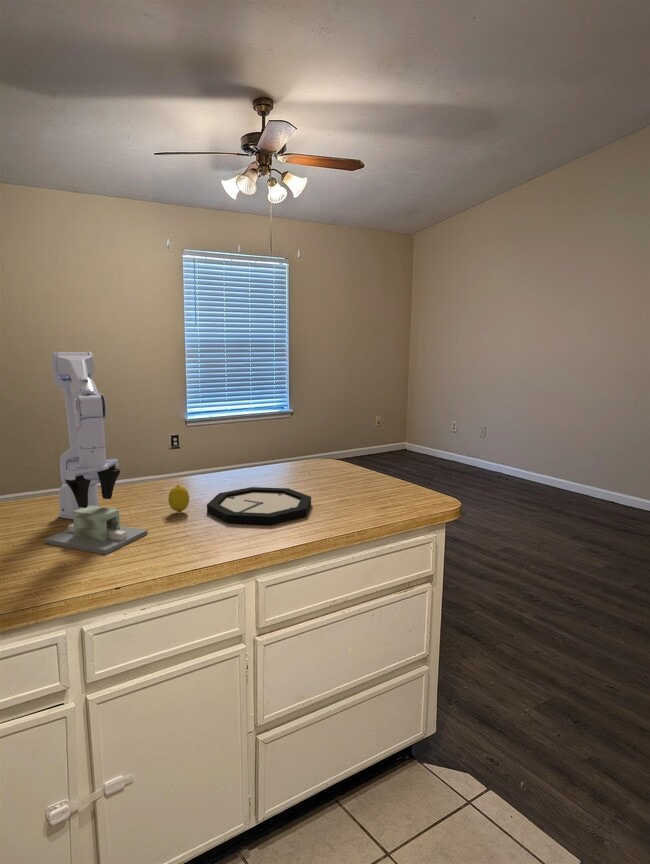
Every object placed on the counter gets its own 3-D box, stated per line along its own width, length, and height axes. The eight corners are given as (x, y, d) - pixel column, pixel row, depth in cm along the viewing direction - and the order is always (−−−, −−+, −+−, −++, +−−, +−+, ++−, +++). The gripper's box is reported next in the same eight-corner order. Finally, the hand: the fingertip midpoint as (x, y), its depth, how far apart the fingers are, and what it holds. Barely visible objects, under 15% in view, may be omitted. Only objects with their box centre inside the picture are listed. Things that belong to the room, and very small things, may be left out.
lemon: (168, 510, 149) (167, 483, 148) (188, 509, 151) (187, 481, 150) (169, 516, 144) (168, 488, 143) (190, 514, 146) (189, 486, 145)
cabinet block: (74, 535, 127) (72, 511, 126) (91, 528, 131) (89, 505, 130) (108, 541, 123) (106, 516, 122) (124, 534, 128) (122, 510, 127)
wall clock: (331, 495, 158) (275, 524, 132) (331, 504, 158) (275, 535, 132) (248, 482, 172) (183, 506, 146) (248, 491, 172) (184, 516, 146)
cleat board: (44, 543, 124) (44, 532, 124) (90, 524, 137) (89, 515, 137) (105, 554, 118) (105, 543, 118) (147, 534, 131) (147, 524, 130)
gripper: (81, 453, 116) (84, 513, 118) (127, 442, 129) (130, 496, 131) (56, 451, 118) (60, 509, 121) (104, 440, 132) (107, 493, 134)
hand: (95, 502), depth 126 cm, fingers open, 7 cm apart
